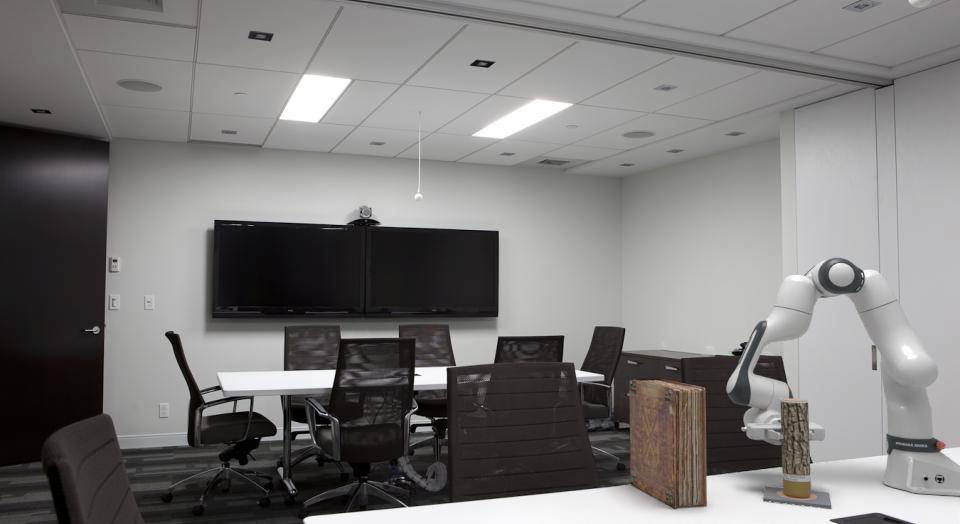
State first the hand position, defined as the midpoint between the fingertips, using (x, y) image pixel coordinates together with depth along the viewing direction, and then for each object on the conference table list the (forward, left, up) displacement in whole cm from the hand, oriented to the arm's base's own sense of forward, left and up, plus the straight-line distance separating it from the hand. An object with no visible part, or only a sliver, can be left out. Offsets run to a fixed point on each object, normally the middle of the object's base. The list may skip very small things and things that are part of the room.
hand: (796, 437), depth 186 cm
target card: (0, -1, -16) cm, 16 cm away
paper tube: (0, 0, -16) cm, 16 cm away
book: (+32, +11, -17) cm, 38 cm away
